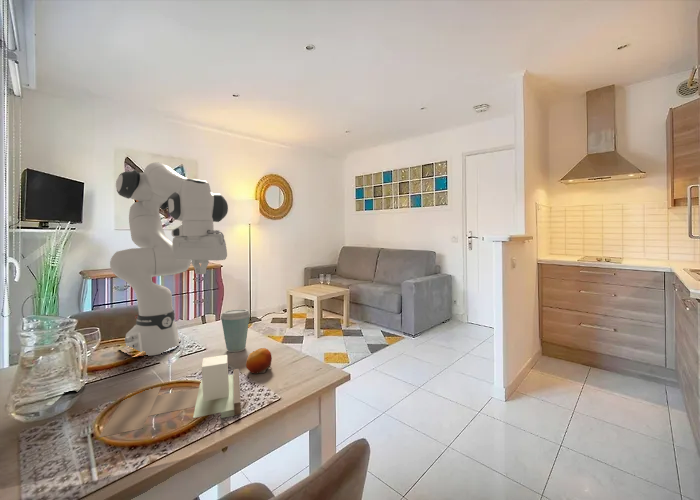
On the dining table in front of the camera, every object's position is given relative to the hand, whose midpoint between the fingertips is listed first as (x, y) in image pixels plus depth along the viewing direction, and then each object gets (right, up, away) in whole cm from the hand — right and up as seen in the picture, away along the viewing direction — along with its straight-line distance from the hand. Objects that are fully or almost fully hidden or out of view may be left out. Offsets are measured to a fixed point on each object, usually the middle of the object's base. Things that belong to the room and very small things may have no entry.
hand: (200, 274), depth 100 cm
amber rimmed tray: (+4, -32, -19) cm, 38 cm away
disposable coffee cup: (+5, -30, +19) cm, 36 cm away
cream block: (+12, -31, -17) cm, 37 cm away
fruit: (+19, -31, 0) cm, 36 cm away
